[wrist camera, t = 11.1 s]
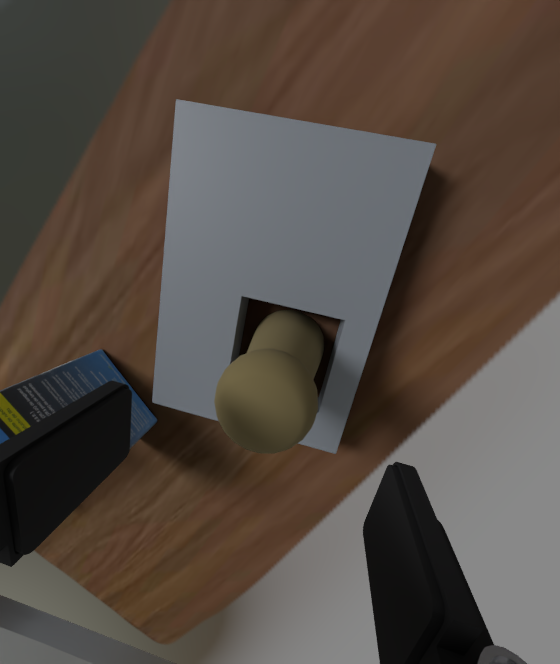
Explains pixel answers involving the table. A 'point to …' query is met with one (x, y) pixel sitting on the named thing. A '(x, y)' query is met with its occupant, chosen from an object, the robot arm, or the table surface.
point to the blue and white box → (65, 395)
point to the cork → (272, 384)
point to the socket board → (278, 245)
